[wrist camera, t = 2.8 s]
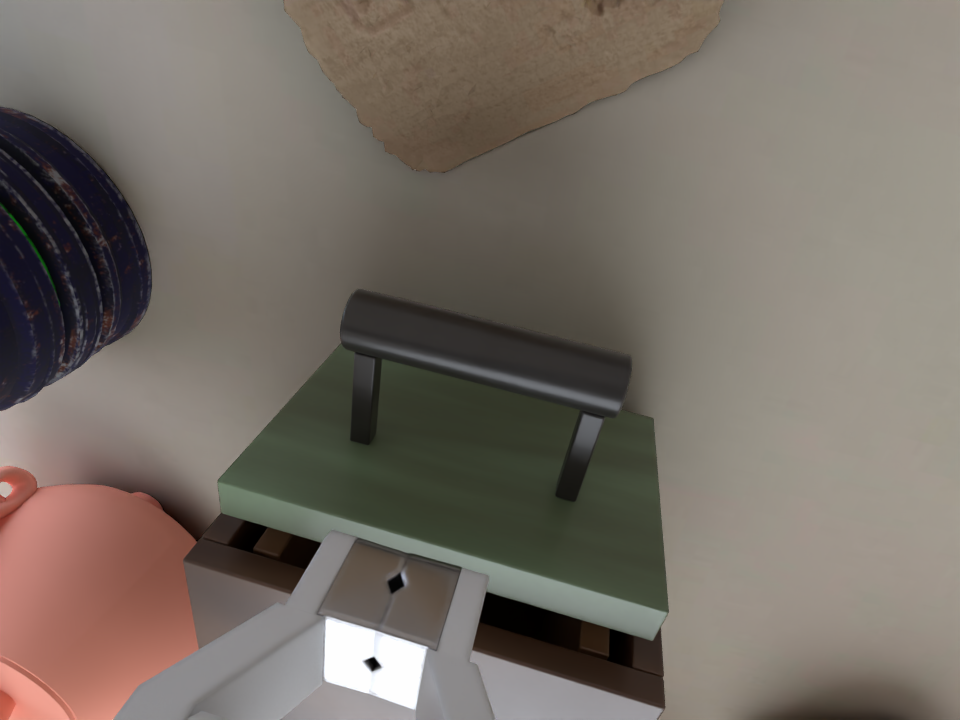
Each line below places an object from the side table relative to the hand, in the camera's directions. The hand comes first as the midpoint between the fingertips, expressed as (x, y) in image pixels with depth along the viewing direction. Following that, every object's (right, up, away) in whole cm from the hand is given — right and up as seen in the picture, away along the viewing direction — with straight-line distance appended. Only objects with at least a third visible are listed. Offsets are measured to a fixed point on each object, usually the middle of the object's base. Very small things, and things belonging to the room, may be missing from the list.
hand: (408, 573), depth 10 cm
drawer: (+1, 0, +12) cm, 12 cm away
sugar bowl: (-18, -6, +21) cm, 28 cm away
